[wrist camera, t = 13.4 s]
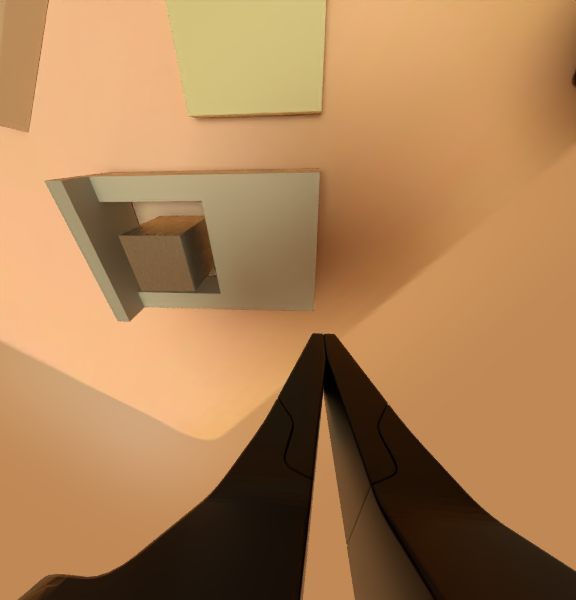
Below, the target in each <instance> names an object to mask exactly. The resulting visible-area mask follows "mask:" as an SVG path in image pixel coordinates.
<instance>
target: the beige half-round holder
mask: <svg viewBox="0 0 576 600" xmlns="http://www.w3.org/2000/svg"><path fill="white" fill-rule="evenodd" d="M47 6H48V0H0V126H4V127H8V128H12V129H16V130H21V131H25V132H28V131H29V124H30V118H31V111H32V105H33V98H34V91H35V85H36V78H37V72H38V65H39V58H40V52H41V45H42V39H43V32H44V25H45V19H46V12H47Z"/></svg>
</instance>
